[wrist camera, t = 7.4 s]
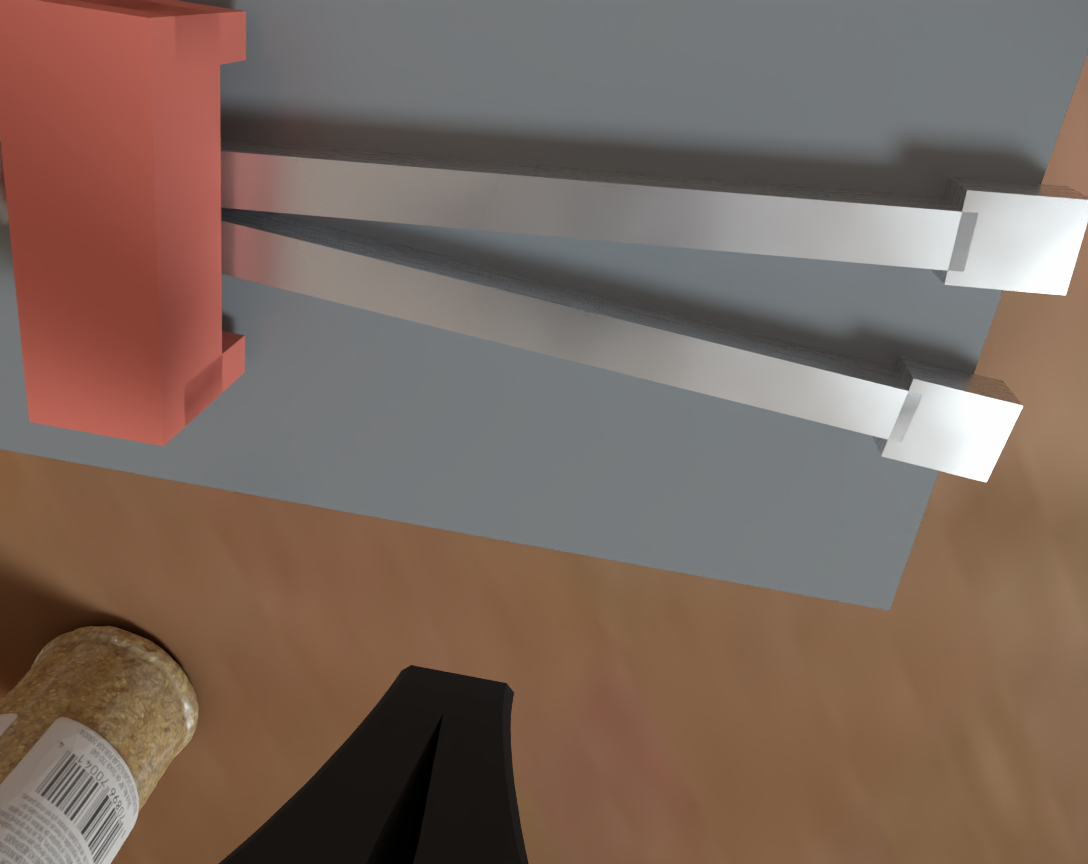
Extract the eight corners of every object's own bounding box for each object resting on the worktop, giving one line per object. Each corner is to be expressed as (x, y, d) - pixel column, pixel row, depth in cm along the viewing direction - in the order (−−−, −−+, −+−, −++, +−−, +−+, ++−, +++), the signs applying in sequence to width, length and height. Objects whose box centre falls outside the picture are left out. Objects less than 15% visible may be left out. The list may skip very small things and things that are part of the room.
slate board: (1099, -63, 16) (1130, -68, 15) (878, 579, 22) (889, 610, 21) (-43, -231, 17) (-91, -246, 16) (26, 426, 23) (-6, 447, 22)
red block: (245, 10, 17) (148, 18, 14) (244, 371, 20) (164, 446, 17) (112, -10, 17) (-16, -9, 14) (131, 352, 20) (29, 421, 17)
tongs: (1073, 187, 17) (1106, 204, 16) (975, 454, 19) (997, 488, 18) (-65, 5, 18) (-121, 7, 17) (-31, 280, 20) (-79, 300, 19)
